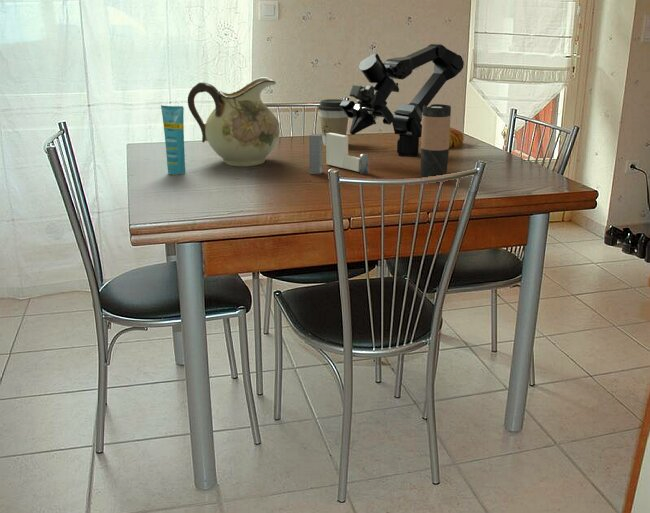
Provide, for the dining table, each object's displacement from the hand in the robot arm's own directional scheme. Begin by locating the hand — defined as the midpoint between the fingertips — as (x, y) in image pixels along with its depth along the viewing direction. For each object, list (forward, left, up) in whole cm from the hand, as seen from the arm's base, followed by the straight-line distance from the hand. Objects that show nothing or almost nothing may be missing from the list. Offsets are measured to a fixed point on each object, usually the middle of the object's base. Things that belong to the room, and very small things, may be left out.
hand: (351, 133), depth 215 cm
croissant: (-30, -35, -10) cm, 47 cm away
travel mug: (-24, +16, -10) cm, 30 cm away
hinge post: (-4, +11, -9) cm, 15 cm away
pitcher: (+33, -1, -10) cm, 35 cm away
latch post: (+9, +12, -9) cm, 18 cm away
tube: (+49, +15, -10) cm, 53 cm away
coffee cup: (+7, -32, -10) cm, 34 cm away
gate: (+2, +5, -9) cm, 11 cm away
